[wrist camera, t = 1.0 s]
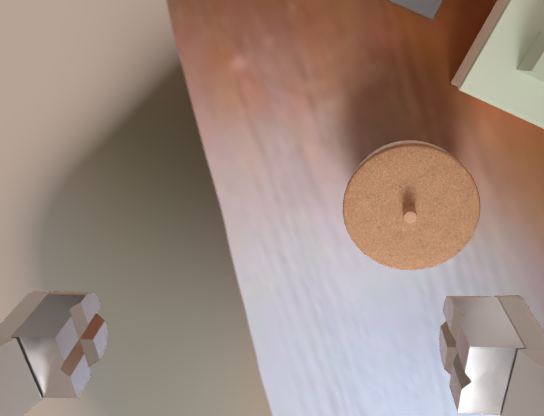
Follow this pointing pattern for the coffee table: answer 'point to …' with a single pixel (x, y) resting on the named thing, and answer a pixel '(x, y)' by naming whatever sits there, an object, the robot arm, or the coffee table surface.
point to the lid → (512, 63)
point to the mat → (420, 6)
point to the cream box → (478, 42)
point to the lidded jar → (411, 205)
